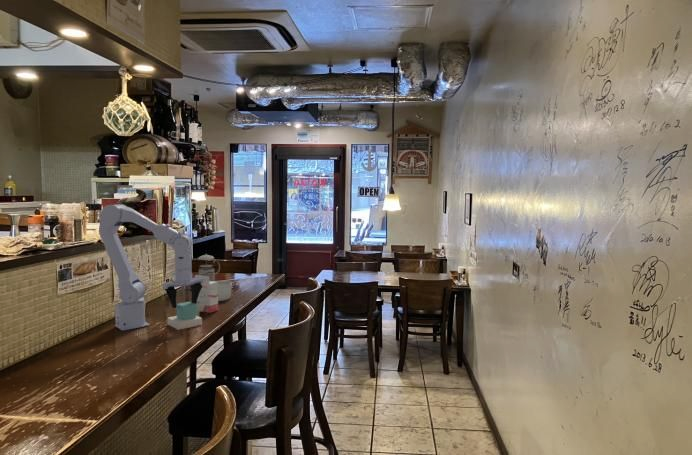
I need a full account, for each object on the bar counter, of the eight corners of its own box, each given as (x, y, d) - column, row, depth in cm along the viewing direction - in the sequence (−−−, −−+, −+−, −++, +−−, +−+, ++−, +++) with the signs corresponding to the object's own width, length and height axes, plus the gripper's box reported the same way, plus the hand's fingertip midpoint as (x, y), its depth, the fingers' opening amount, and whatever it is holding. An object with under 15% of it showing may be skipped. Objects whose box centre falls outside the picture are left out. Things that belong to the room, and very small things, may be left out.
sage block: (188, 318, 182) (187, 306, 182) (183, 315, 186) (182, 304, 185) (199, 315, 185) (199, 304, 185) (194, 313, 189) (193, 302, 188)
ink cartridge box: (219, 310, 193) (218, 274, 192) (210, 313, 189) (209, 276, 188) (203, 307, 197) (202, 272, 196) (194, 310, 193) (193, 274, 192)
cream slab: (178, 331, 167) (177, 322, 167) (167, 325, 174) (167, 317, 173) (202, 326, 173) (201, 318, 173) (191, 321, 180) (191, 313, 179)
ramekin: (236, 295, 219) (236, 280, 219) (226, 302, 206) (226, 286, 206) (208, 295, 221) (208, 280, 220) (196, 302, 208) (196, 286, 207)
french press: (195, 283, 247) (194, 235, 245) (218, 281, 252) (217, 234, 250) (198, 287, 238) (196, 237, 236) (221, 285, 243) (220, 236, 241)
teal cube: (183, 320, 170) (182, 306, 169) (176, 317, 173) (176, 303, 173) (196, 317, 173) (195, 304, 173) (189, 315, 177) (189, 301, 176)
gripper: (167, 272, 164) (169, 311, 165) (207, 267, 174) (208, 304, 175) (159, 269, 169) (161, 307, 170) (198, 265, 179) (199, 300, 180)
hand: (184, 305), depth 173 cm, fingers open, 7 cm apart
